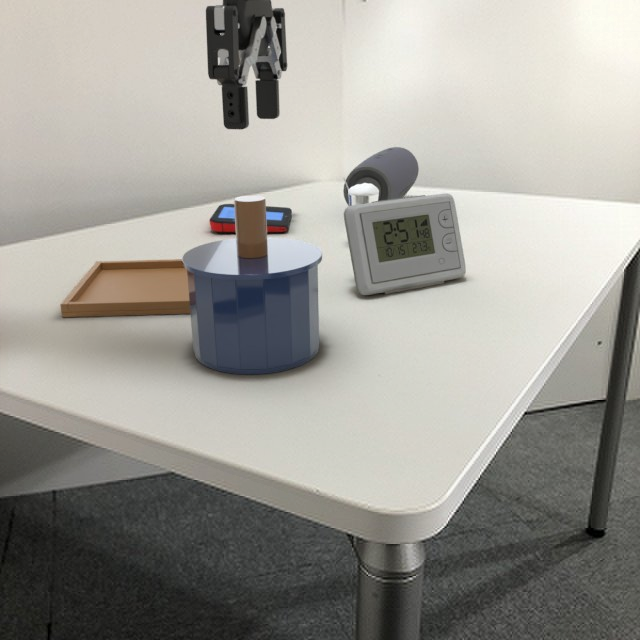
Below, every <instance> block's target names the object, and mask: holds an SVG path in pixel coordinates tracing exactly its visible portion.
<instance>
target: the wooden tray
mask: <svg viewBox="0 0 640 640" xmlns="http://www.w3.org/2000/svg"><path fill="white" fill-rule="evenodd" d="M60 311H61V317H62V318H84V317H85V318H86V317H87V318H88V317H119V316H121V317H122V316H124V317H125V316H155V315H156V316H157V315H189V314H190V315H191V313H190V301H189V288H188V276H187V270H186V269H185V268H184V267H183V264H182V258H181V259H180V258H179V259H176V258H175V259H143V260H142V259H141V260H139V259H138V260H103V261H102V260H100V261H99V260H97V261H95V262H94V264H93V265H92V266H91V267H90V268H89V269H88V271H87V272H86V273H85V274H84V275H83V277H81V279H80V280H79V282H78V283H77V284H76V285H75V286H74V287H73V289H72V290H71V291H70V292H69V293H68V294H67V296H66V297H65V298H64V299H63V301H62V302H61V303H60Z"/></svg>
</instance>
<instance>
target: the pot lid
mask: <svg viewBox="0 0 640 640" xmlns="http://www.w3.org/2000/svg"><path fill="white" fill-rule="evenodd" d="M233 204H234V209H235V226H236V233H235V238H228V239H222V240H216V241H212V242H208V243H204V244H200V245H198V246H195V247H193V248H190V249H189V250H187V251H186V252H185V253H184V254H183V255H182V258H181V259H182V264H183V267H184V268H185V269H186V270H188V271H189V272H192V273H194V274H197V275H200V276H204V277H209V278H216V279H225V280H261V279H271V278H279V277H285V276H290V275H294V274H298V273H301V272H304V271H307V270H310V269H312V268H314V267H315V266H317V265H319V264H321V263H322V261H323V252H322V249H321V248H319V247H318V246H317V245H315V244H313V243H310V242H308V241H304V240H299V239H294V238H288V237H286V238H285V237H277V236H276V237H273V236H268V233H267V220H266V206H267V201H266V197H265V196H261V195H241V196H236V197H234V199H233Z"/></svg>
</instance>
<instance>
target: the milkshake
mask: <svg viewBox="0 0 640 640" xmlns="http://www.w3.org/2000/svg"><path fill="white" fill-rule="evenodd" d="M342 179H343V181H344V184H346V186H347V189H348V196H349V206H352V205H358V204H366V203H371V202H374V201H378V197H379V190H378V188H377V187H376V186H374V185H373V184H370V183H369V184H368V183H363V184H357V185H355V186H352V187H351V188H350V189H349V188H348V185H347V183H346V178H345V176H343V177H342ZM349 206H348V207H349Z"/></svg>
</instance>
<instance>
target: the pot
mask: <svg viewBox="0 0 640 640" xmlns="http://www.w3.org/2000/svg"><path fill="white" fill-rule="evenodd" d="M318 265H319V264H318ZM318 265H317V266H315V267H314V268H312V269H310V270H307V271H304V272H301V273H298V274H294V275H290V276H285V277H279V278H271V279H261V280H225V279H216V278H209V277H204V276H200V275H197V274H194V273H192V272H189V271H188V270H187V276H188V288H189V301H190V313H191V314H190V322H191V336H192V349H193V353H194V357H195V359H196V360H197V361H198V362H199V363H200V364H201V365H203V366H205V367H207V368H209V369H211V370H213V371H216V372H217V371H218V372H222V373H225V374H227V373H228V374H235V375H266V374H267V375H268V374H273V373H280V372H284V371H288V370H292V369H295V368H297V367H301V366H303V365H305V364H306V363H308V362H311V360H313V359H314V358H315V357H316V356H317V354H318V352H319V349H320V320H319V319H320V317H319V270H318V269H319V268H318V267H319V266H318Z"/></svg>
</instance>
